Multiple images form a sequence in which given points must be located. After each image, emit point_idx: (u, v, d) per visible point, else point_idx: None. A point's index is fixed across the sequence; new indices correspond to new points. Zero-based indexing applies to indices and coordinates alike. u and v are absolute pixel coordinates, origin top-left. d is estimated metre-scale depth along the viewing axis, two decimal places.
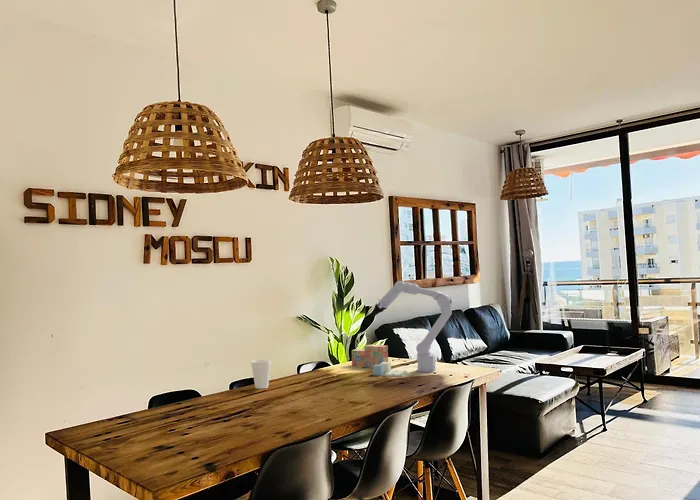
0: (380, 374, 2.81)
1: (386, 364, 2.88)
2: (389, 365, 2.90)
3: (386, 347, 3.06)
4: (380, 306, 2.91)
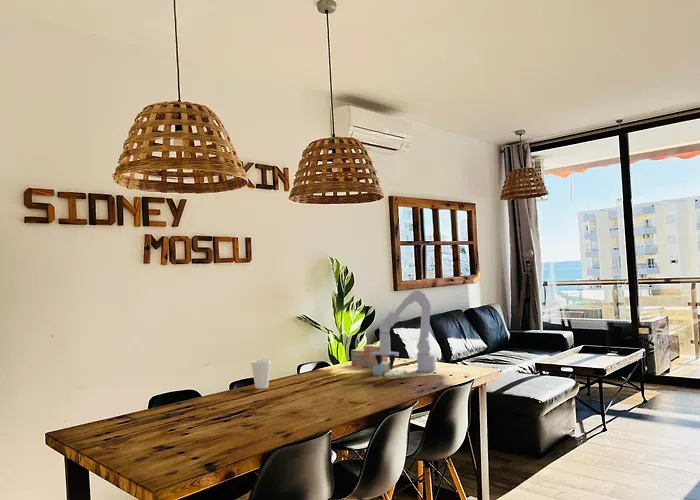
0: (380, 374, 2.81)
1: (386, 364, 2.88)
2: (389, 365, 2.90)
3: None
4: (398, 354, 2.89)
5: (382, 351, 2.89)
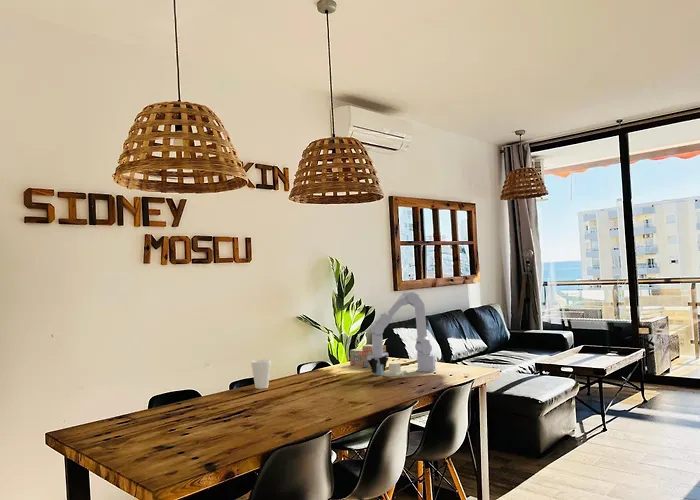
0: (380, 374, 2.81)
1: (399, 364, 2.82)
2: None
3: (384, 347, 3.07)
4: None
5: (380, 353, 2.82)
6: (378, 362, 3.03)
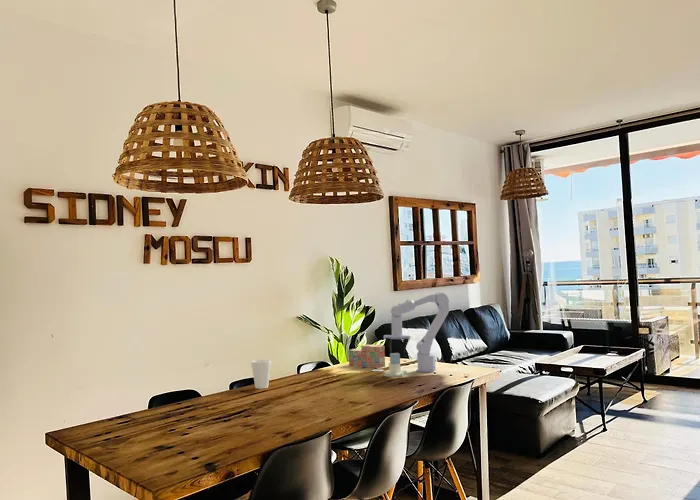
0: (391, 362, 2.80)
1: (399, 364, 2.82)
2: None
3: (383, 347, 3.07)
4: None
5: (394, 334, 2.88)
6: (377, 362, 3.04)
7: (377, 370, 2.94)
